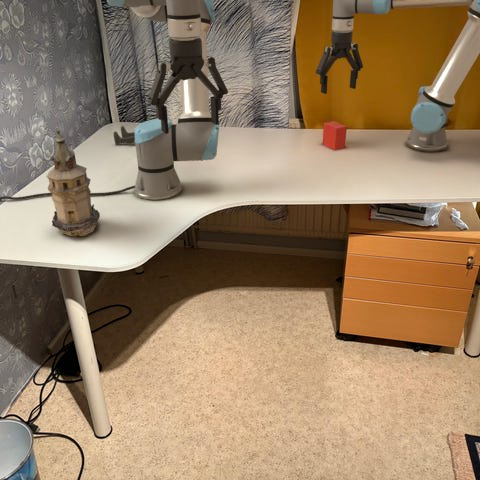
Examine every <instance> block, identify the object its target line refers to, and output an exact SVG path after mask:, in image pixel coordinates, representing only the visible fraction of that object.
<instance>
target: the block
mask: <svg viewBox="0 0 480 480" xmlns="http://www.w3.org/2000/svg"><path fill="white" fill-rule="evenodd" d="M322 129H323V130H322V144H321V145H323V146H325V147H327V148H329V149H331V150H333V151H337V150H342V149H345V148H346V142H347V129H348V125H345V124H342V123H341V122H337V121H335V120H332V121H328V122H323V128H322Z"/></svg>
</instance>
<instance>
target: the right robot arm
mask: <svg viewBox="0 0 480 480" xmlns="http://www.w3.org/2000/svg"><path fill="white" fill-rule="evenodd" d="M332 2H333V3H332V21H331V30H332V32H331V38H330V41H331V46H324V47H323V53H322V55H321V58H320V60H319V63H318V65H317V67H316V70H315V74H316V75H319V84H320V93H321V94H324V95H327V94H328V77H329V76H328V75H327V74H328V72H329V71H330V69H331V68H332V67H333V65H334V63H335V62H336V61H337V60H340V59H345V60H346V61H347V63H348V64H349V66H350V67H351V70H350V76H349V88H350V89H353V90H356V89H357V80H358V78H359V72H360V71H361V69H363V68H364V64H363V61H362V58H361V55H360V51H359V44H358V43H355V42H353V30H354V20H355V15H356V14H359V15H361V14H362V15H376V16H377V15H387V14H388V13H389V11H390V10H397V9H399V10H400V9H419V8H437V7H457V6H460V7H461V6H468V7H469V8H468V10H467V16H468V19H467V21H466V23H465V25H464V27H463V28H462V30H461V32H460V34H459V36H458V38H457V39H456V41H455V43H454V45H453V46H452V48H451V50H450V51H449V54H448V55H447V57H446V59H445V61H444V62H443V64H442V66H441V68H440V70H439V71H438V72H437V75H436V77H435V78H434V80H433V82H432V84H431V85H424V86H421V87H420V88H419V89H418V93H417V101H416V103H415V105H414V107H413V108H412V110H411V112H410V122H411V125H412V128H411V130H410V132H409V134H408V135H407V138H406V142H405V144H406V146H407V147H408V148H409V149H412V150H414V151H418V152H424V153H437V152H442V151H445V150H446V149H447V147H448V138H447V132H446V125H448V124H449V122H450V119H449V118H448V115H449V114H450V112H451V110H452V109H453V107H454V106H455V104H456V99H455V96H456V93H457V92H458V90H459V88H460V87H461V85H462V83H463V82H464V80H465V78H466V77H467V75H468V73H469V72H470V70H471V69H472V66H473V65H474V64H475V62H476V60H477V58H478V57H479V54H480V0H333V1H332Z"/></svg>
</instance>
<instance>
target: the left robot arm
mask: <svg viewBox="0 0 480 480" xmlns="http://www.w3.org/2000/svg"><path fill="white" fill-rule="evenodd" d="M106 2H107V4H108V5H109V6H110V7H119V8H123V7H129V8H130V9H131V11H132V12H133V13H134V14H135V15H136V16H138V17H140V18H143V19H146V20H149V21H153V22H159V23H167V32H168V33H167V34H168V37H169V38H170V39H169V40H168V42H169V43H168V44H169V46H168V48H169V57H170V59H169V62H163V61H158V62H157V70H156V71H157V72H156V74H155V78H154V80H153V83H152V86H151V88H150V92H149V95H148V97H147V103H148V104H149V105H151V106H155V109H156V110H155V112H156V118H153V119H149V120H146V121H143V122H140V123H139V124H138V125H137V126H136V127H135V128H134V132H135V141H134V142H135V143H134V144H135V153H136V160H137V175H136V179H135V184H134V185H132V186H128V187H126V188H123V189H120V190H114V191H107V192H90V197H91V196H109V195H117V194H122V193H125V192H127V191H130V190H133V189H134V193H135V195H136V196H137V197H138V198H141V199H143V200H148V201H161V200H168V199H171V198H174V197H176V196H178V195H179V194H180V193H181V192H182V183H181V180H180V177H179V176H178V173H177V171H176V169H175V162H199V161H201V162H203V161H211V160H214V159H216V158H217V155H218V154H217V153H218V146H219V145H218V144H219V133H220V120H219V119H220V118H219V117H220V116H219V115H220V114H219V111H221V110H222V99H223V98H224V95H228V93H229V90H228V88H227V86H226V84H225V82H224V80H223V78H222V76H221V74H220V72H219V70H218V68H217V65H216V58H215V57H213V56H211V55H208V42H207V33H208V31H210V29H211V28H212V23H213V22H215V21H216V13H215V7H214V6H215V5H214V0H106ZM169 69H170V70H171V74H170V75H169V77H168V80H167V82H166V83H165V85H164V86H163V84H164V81H165V79H166V76H167V73H168V72H169ZM209 74H210V75H211V77H212V79H213V81H214V83H215V85H216V86H215V85H214V84H213V83H212V81H211V80H210V79H209ZM179 83H180V93H181V94H180V95H181V114H180V115H179V116H178V117H177V124H172V122H171V120H170V119H169V117H168V108H167V106H166V105H165V104H166V102H167V100H168V99H169V97H170V96H171V94H172V92H173V91H174V89H175V88H176V87H177V85H178V84H179ZM162 87H163V88H162ZM209 92H210V93H211V94H212V95H213V96H210V93H209ZM45 196H52V193H51V192H44V193H35V194H30V195H24V196H17V197H15V196H8V195H7V196H6V195H4V196H0V201H2V200H12V201H19V200H27V199H31V198H32V199H33V198H39V197H45ZM11 288H12V293H13V296H14V299H15V300H17V299H18V296H17V290H16V287H15V284H11Z"/></svg>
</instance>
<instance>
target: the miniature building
mask: <svg viewBox="0 0 480 480" xmlns="http://www.w3.org/2000/svg"><path fill="white" fill-rule="evenodd" d="M56 134H57V136H56V138H55V140H54V141H55V142H56V147H55V154H54V156H52V157H51V161H52V162H53V165H54V167H53V168H51V169H50V170H49V171H48V173H47V174H46V178H47V179H48V182H49V184H48V186H47V190H48V191H49V193H52V195H51V200H52V201H53V205H54V209H55V211H53V217H52V220H51V223H52V225H51V227H54V228H56V229H58V230H59V231H60V234H63V235H64V234H65V235H66V236H69V237H77V236H80V237H83V236H87V235H88V234H90V233H93V232H94V231H95V229H96V226H97V225H98V223H99V220H100V216H101V213H100V212H99V210H98V209H96V208H95V204H92V201H91V200H92V199H91V198H92V197H91V196H90V193H92V191H91V188H90V184H91V178H89V177H88V174H87V167H85V166H84V165H83V166H82V165H80V164H77V160H76V154H75V151H74V150H70V149H69V147H68V145H67V143H66V138H65V137H64V136H63V135H61V130H60V129H56Z"/></svg>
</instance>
